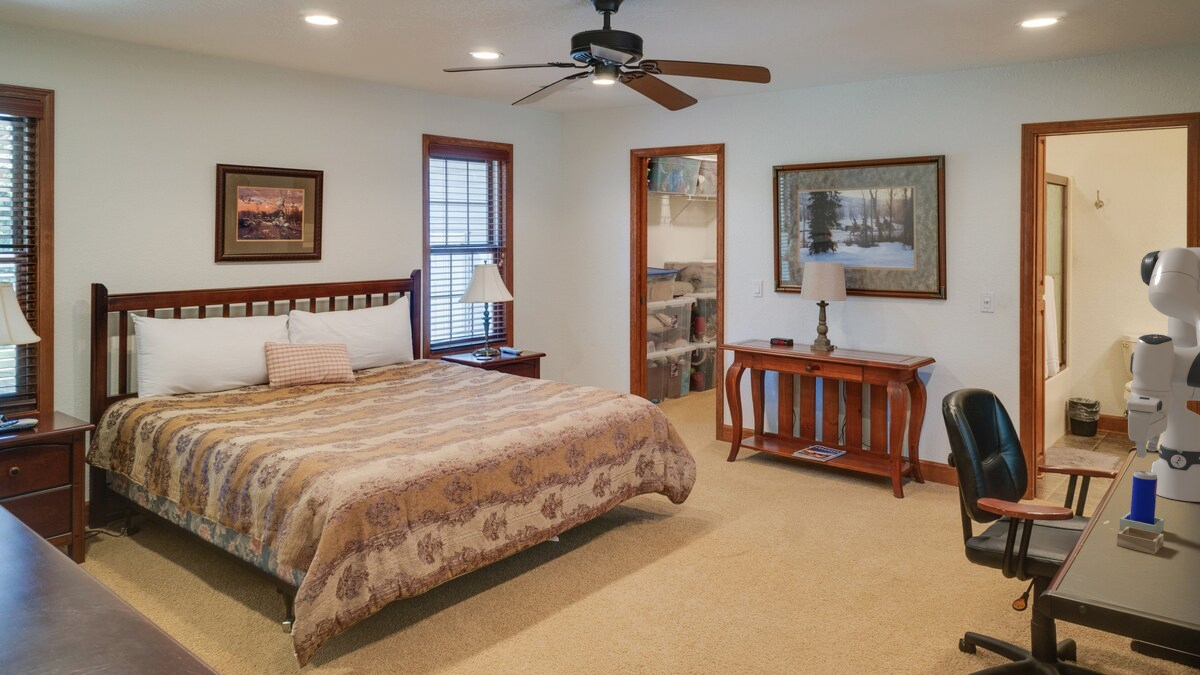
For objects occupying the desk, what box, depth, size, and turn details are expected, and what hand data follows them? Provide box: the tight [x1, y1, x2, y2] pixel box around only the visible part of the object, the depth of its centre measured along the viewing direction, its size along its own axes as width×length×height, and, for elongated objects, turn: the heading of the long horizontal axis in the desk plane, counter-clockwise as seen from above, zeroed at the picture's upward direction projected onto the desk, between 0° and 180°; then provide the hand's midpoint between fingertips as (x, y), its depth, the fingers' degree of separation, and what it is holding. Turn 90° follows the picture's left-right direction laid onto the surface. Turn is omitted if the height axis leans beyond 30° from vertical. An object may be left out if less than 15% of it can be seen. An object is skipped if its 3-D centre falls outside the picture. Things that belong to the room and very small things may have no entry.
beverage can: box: [1130, 470, 1157, 525], centre depth 214 cm, size 5×5×15 cm
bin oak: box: [1116, 526, 1165, 555], centre depth 203 cm, size 8×8×3 cm
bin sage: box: [1118, 511, 1165, 534], centre depth 214 cm, size 8×8×3 cm
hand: (1146, 453), depth 212 cm, fingers open, 8 cm apart
